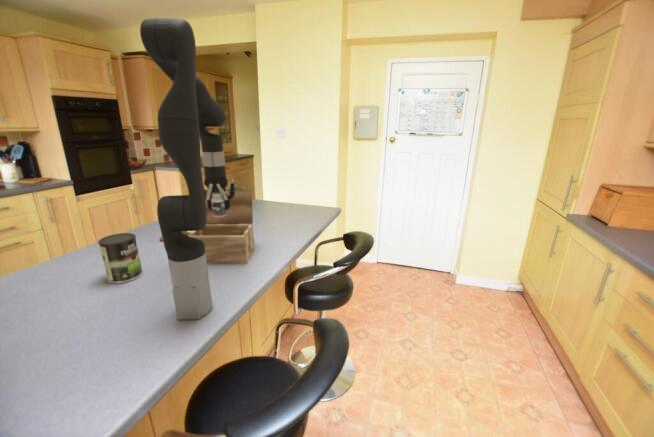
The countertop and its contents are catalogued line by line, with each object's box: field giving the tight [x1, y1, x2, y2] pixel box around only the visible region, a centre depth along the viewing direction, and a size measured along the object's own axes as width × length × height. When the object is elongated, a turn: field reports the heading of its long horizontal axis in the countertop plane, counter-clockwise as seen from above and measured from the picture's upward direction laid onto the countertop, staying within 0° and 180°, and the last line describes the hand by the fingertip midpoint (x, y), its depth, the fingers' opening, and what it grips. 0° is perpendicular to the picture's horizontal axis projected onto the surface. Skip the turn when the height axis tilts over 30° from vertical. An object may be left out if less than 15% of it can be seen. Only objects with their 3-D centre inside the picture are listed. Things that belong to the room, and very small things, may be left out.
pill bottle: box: [211, 192, 227, 217], centre depth 113 cm, size 5×5×9 cm
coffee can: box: [97, 232, 144, 284], centre depth 102 cm, size 10×10×14 cm
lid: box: [205, 189, 254, 224], centre depth 123 cm, size 14×21×2 cm
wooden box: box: [188, 224, 255, 265], centre depth 118 cm, size 14×21×11 cm, turn 91°
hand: (219, 209), depth 114 cm, fingers closed on pill bottle, 5 cm apart
